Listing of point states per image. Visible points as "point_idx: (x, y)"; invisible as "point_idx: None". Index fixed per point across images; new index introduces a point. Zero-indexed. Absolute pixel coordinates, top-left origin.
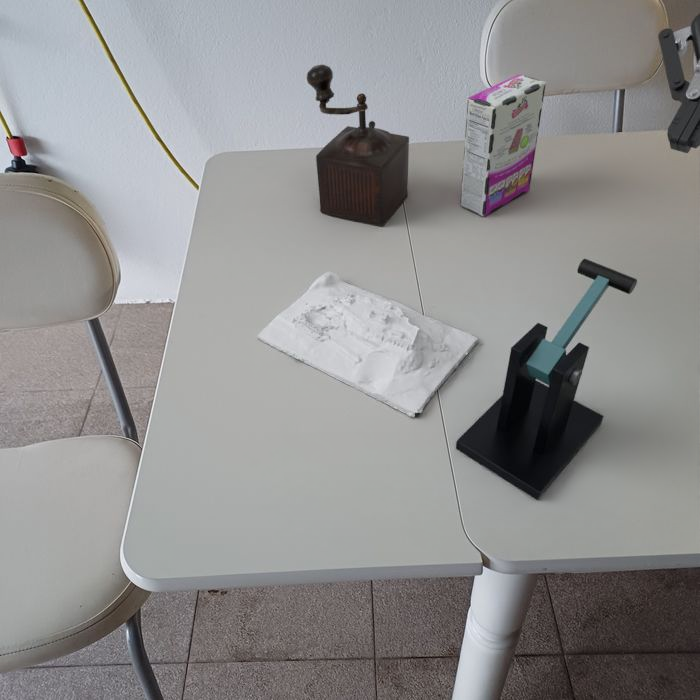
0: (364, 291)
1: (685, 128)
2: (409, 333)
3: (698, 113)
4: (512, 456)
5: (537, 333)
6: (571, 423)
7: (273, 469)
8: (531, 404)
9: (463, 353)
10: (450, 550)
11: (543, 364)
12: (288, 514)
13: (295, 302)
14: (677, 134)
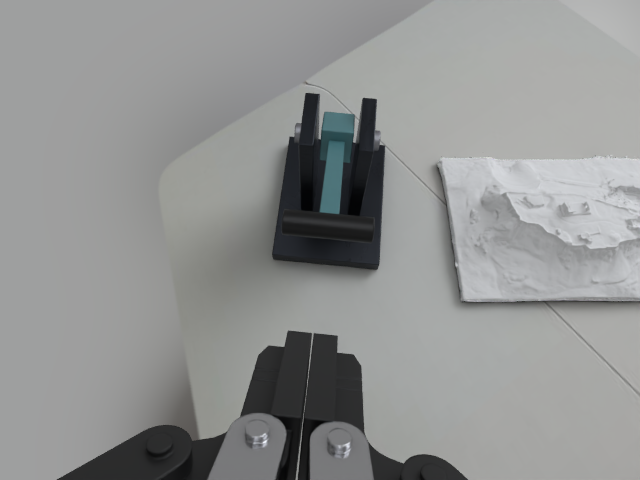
0: None
1: (308, 353)
2: (524, 209)
3: (288, 386)
4: None
5: (363, 133)
6: None
7: (495, 58)
8: None
9: (458, 259)
10: (328, 74)
11: (335, 116)
12: (451, 37)
13: None
14: (322, 338)
